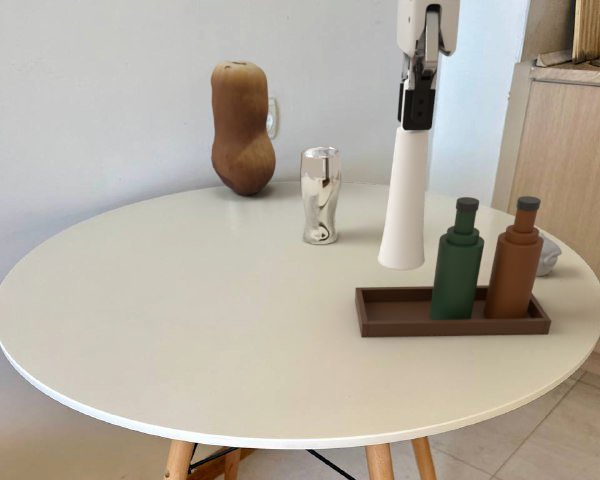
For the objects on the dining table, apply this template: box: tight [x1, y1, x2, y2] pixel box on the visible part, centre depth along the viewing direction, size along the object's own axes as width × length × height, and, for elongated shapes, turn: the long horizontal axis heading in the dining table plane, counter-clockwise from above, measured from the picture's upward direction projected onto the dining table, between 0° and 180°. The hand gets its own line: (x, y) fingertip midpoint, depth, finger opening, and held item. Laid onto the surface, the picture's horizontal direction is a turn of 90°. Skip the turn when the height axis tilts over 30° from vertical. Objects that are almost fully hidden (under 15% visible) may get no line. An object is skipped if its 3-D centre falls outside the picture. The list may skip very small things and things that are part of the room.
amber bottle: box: [483, 195, 544, 319], centre depth 77 cm, size 6×6×16 cm
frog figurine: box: [536, 231, 563, 277], centre depth 91 cm, size 6×7×7 cm
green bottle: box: [430, 196, 486, 320], centre depth 77 cm, size 6×6×16 cm
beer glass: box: [299, 146, 342, 246], centre depth 103 cm, size 7×7×15 cm
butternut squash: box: [210, 60, 277, 197], centre depth 122 cm, size 14×13×25 cm
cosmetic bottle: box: [377, 70, 430, 271], centre depth 70 cm, size 6×6×22 cm
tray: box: [354, 284, 552, 339], centre depth 82 cm, size 25×11×3 cm, turn 90°
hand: (414, 123), depth 67 cm, fingers closed on cosmetic bottle, 3 cm apart
